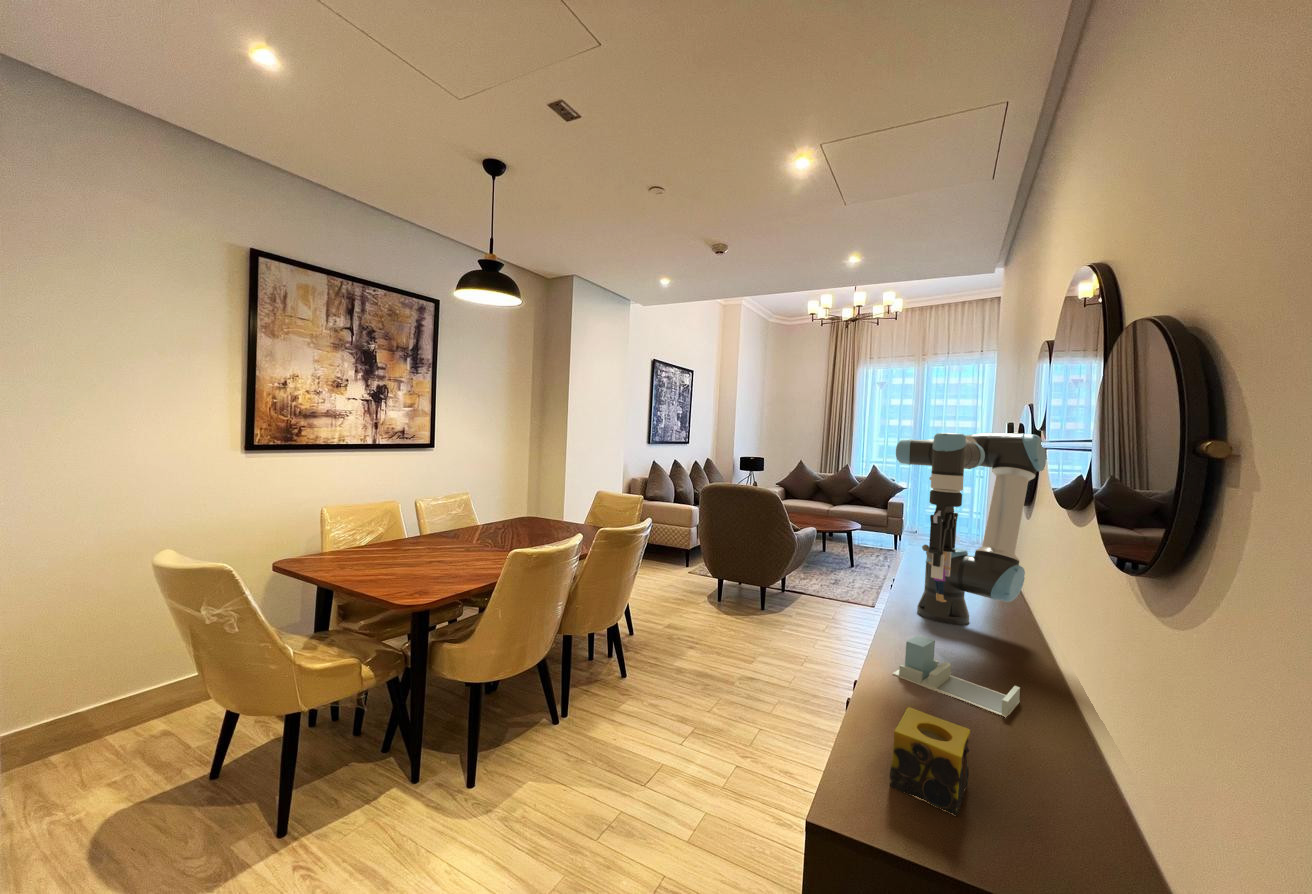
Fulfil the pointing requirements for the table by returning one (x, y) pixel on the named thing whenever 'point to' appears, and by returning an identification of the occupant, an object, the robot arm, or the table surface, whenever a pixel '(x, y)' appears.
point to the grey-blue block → (920, 654)
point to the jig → (962, 688)
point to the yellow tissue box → (930, 759)
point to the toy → (938, 582)
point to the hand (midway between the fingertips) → (940, 576)
